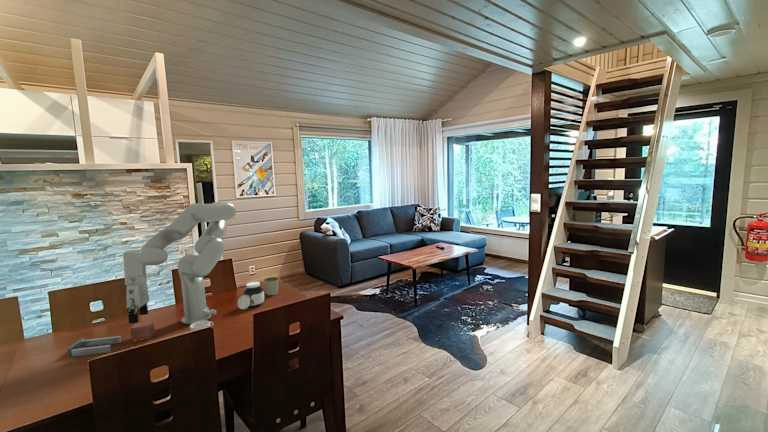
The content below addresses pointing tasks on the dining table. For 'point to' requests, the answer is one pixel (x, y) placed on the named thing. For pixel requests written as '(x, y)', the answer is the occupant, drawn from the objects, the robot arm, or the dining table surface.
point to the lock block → (142, 330)
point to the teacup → (200, 325)
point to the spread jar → (251, 296)
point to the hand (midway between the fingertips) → (138, 318)
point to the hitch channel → (79, 346)
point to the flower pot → (271, 285)
